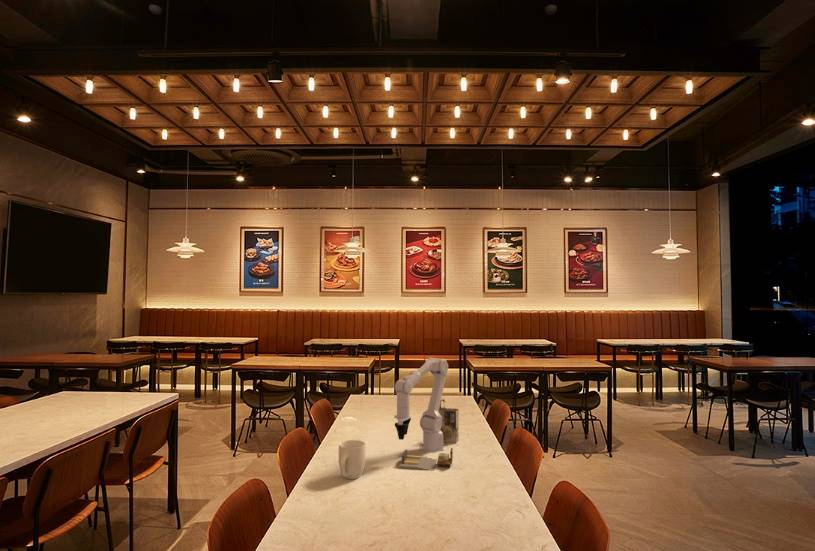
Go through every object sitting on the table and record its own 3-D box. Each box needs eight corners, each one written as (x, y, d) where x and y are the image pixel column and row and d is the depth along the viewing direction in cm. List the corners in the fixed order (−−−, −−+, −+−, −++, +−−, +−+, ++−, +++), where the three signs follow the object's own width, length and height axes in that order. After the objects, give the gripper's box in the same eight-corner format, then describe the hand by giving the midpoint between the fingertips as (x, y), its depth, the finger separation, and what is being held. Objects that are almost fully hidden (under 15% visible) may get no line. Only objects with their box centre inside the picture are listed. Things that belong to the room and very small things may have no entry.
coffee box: (458, 440, 233) (459, 408, 234) (456, 443, 227) (456, 411, 228) (442, 438, 236) (442, 407, 237) (438, 441, 230) (439, 409, 231)
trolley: (452, 463, 198) (452, 448, 198) (452, 468, 192) (452, 452, 193) (438, 462, 199) (438, 447, 199) (437, 467, 193) (437, 451, 194)
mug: (354, 487, 172) (355, 452, 173) (328, 483, 175) (329, 449, 176) (369, 473, 186) (369, 441, 187) (345, 470, 189) (345, 438, 190)
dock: (436, 459, 203) (436, 449, 203) (433, 471, 189) (434, 460, 190) (404, 457, 205) (404, 447, 206) (399, 468, 192) (399, 458, 192)
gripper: (397, 402, 212) (397, 431, 211) (391, 409, 198) (390, 441, 197) (412, 403, 211) (412, 432, 210) (406, 410, 197) (406, 442, 196)
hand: (402, 436), depth 204 cm, fingers open, 7 cm apart
